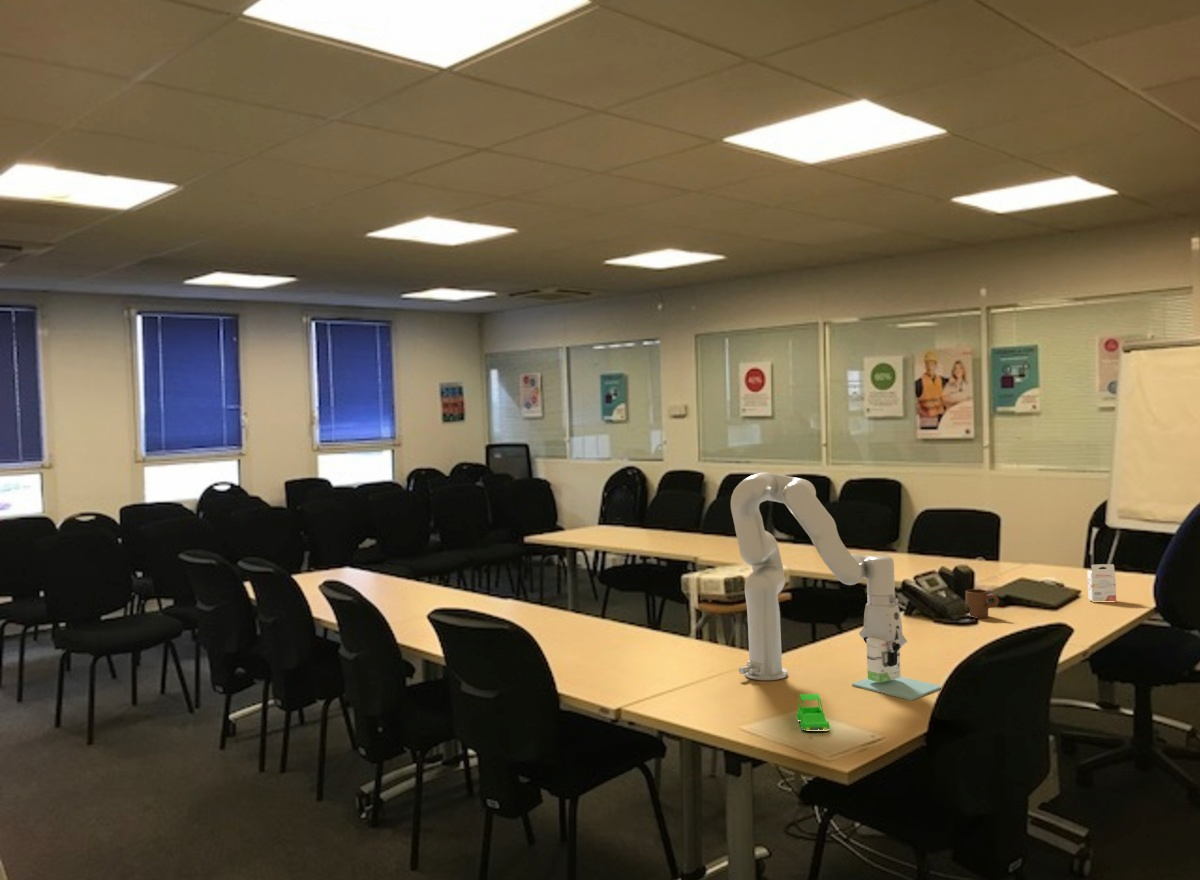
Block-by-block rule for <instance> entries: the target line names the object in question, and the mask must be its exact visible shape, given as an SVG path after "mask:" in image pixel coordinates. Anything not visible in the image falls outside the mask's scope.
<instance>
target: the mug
mask: <svg viewBox="0 0 1200 880" xmlns="http://www.w3.org/2000/svg"><path fill="white" fill-rule="evenodd" d="M989 599H993V602H989ZM999 599H1000V598H999V596H998V595H997V594H995V593H989V594H988V591H987V590H985V589H977V588H976V589H974V588H973V589H966V590H965V605H966V604H967V605H968V607H969V609H970V615H971V616H974V617H977V618H982V619H987V618H988V617H989V609H990V608H996V607H997V606H998V605H999V603H1000V600H999ZM986 617H987V618H986Z"/></svg>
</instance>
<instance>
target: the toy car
mask: <svg viewBox="0 0 1200 880" xmlns="http://www.w3.org/2000/svg"><path fill="white" fill-rule="evenodd" d="M801 701H802V702H801ZM804 701H817V704H818V706H804ZM797 706H798V707H797V709H798V710H797V711H798V712H796V713H795V715H796V716H797V718H798V720H801V721H800V722H799V726H800V725H801V727H802V729H805V730H818V729H819V730H823V729H824V730H827V729H830V730H831V728H830V722H829V721H827V718H826V717H825V713H824V709H823V704H822V699H821V696H820V695H819V693H809V694H808V693H806V694H805V693H804V694H803V693H802V694H799V699H798V705H797ZM796 716H795V717H796ZM797 718H796V719H797ZM801 727H800V728H801ZM805 730H804V731H805Z"/></svg>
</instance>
